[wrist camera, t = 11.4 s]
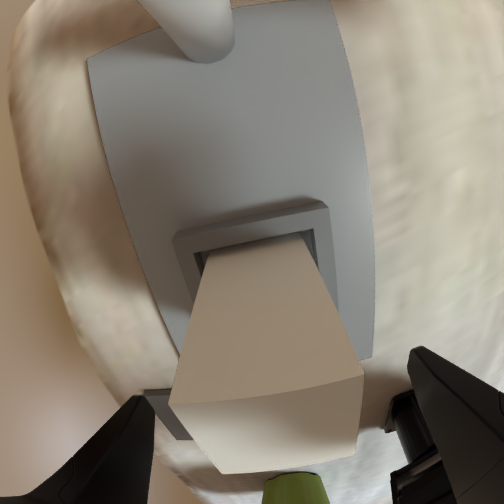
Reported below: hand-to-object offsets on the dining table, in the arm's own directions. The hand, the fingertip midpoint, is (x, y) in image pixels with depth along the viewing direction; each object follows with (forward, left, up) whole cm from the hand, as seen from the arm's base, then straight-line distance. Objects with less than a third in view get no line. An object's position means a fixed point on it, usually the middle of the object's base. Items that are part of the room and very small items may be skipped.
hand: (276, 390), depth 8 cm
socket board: (+3, 0, -8) cm, 9 cm away
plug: (0, 0, -7) cm, 7 cm away
